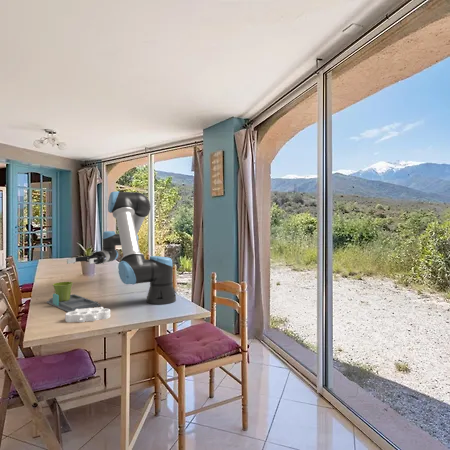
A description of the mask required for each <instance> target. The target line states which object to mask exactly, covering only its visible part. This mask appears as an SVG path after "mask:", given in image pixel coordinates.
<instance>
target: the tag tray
mask: <svg viewBox="0 0 450 450" xmlns="http://www.w3.org/2000/svg"><path fill="white" fill-rule="evenodd" d="M46 303H47V304H48V305H51V306H53V307H55V308H58V309H60V310H62V311H64V312H66V313H68V312H71V311H75V310H76V309H85V308H93V307H94V308H97V307H98V306H99V307H102V306H101V304H100V303H98V301H96V300H93V299H89V298H85V297H84V296H81V295H78V294H75V293H72V294H70V299H69V300H67V301H59V295H57V294H55V293H52V297H51V298H49V300H46Z"/></svg>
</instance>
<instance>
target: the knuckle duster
mask: <svg viewBox="0 0 450 450" xmlns="http://www.w3.org/2000/svg"><path fill="white" fill-rule="evenodd" d="M64 317H65V321H64V322H66V323H85V321H86V322H95V320H96V321H99V320H107V319H109V318H111V309H110V308H104V306H99V307H94V308H85V309H76V310H75V311H71V312H65V316H64Z"/></svg>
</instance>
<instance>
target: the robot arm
mask: <svg viewBox="0 0 450 450" xmlns="http://www.w3.org/2000/svg"><path fill="white" fill-rule="evenodd" d="M107 201H108V202H107V212H108V213H110V214H112V216H113V218H114V219H116V223H117V230H118V233H116V232H115V230H109V231H108V230H105V231H103V232H102V250H98V251H94V252H93V253H92V254H90V255H82V256H71V257H70V258H66V265H70V264H75V263H79V262H86V263H87V262H88V263H89V265H92V264H96V265H100V264H101V265H104V264H105V263H109V262H113V261H116V260H117V259H118V258H119V252H118V250H117V249H116V246H120V247H121V252H122V257H121V259H120V262H119V263H118V267H117V270H118V276H119V279H120V280H121V282H122V283H123V284H124V285H138V284H144V283H149V289H148V292H147V296H146V303H148V304H151V305H167V304H171V303H174V302H176V301H177V295H176V292H175V289H174V284H173V281H174V280H173V278H174V277H173V275H174V274H173V271H174V270H173V269H174V265H173V260H172V258H171V257H167V256H160V255H150V256H149V258H148V259H146V258H145V255H144V254H143V253H142V252H141V250H140V246H139V245H140V244H139V235H138V234H139V231H140V230H141V227H142V226H143V223H144V221H145V219H146V217H148V216H149V214H150V212H151V209H152V208H151V207H152V206H151V202H150V200H149V198H148V197H147V195H145V194H143V193H142V192H140V191H139V192H138V191H120V190H119V191H112V192H110V194H109V196H108V200H107Z"/></svg>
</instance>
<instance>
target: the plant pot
mask: <svg viewBox="0 0 450 450" xmlns="http://www.w3.org/2000/svg"><path fill="white" fill-rule="evenodd" d="M73 285H74V282H73V281H60V282H56V283H53V284H52V286H53V289H54V294H57V295H59V301H67V300H69V299H70V295H71V292H72V287H73Z"/></svg>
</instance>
